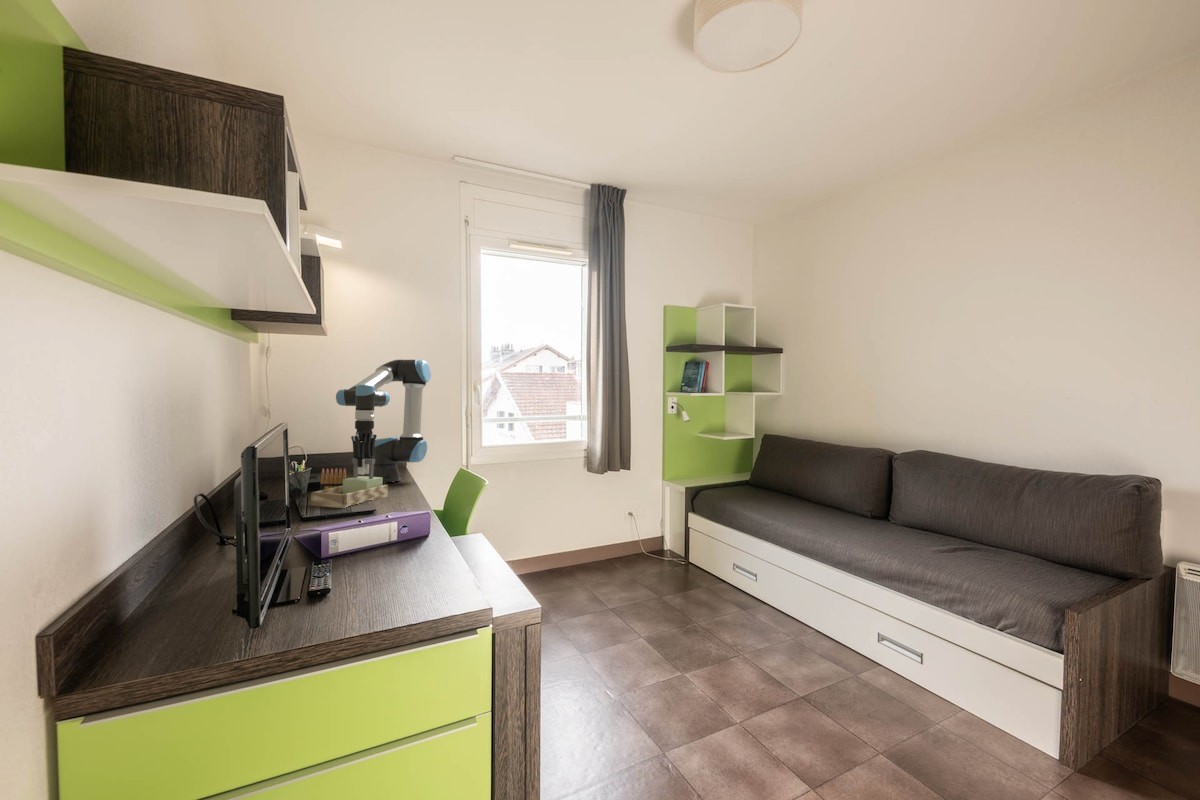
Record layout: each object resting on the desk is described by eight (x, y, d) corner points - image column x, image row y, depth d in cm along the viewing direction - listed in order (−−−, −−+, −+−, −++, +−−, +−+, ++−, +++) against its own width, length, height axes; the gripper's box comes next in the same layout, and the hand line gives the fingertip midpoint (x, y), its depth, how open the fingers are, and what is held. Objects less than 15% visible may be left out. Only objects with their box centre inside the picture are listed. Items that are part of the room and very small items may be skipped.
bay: (356, 494, 223) (357, 482, 223) (387, 496, 219) (387, 484, 219) (310, 505, 197) (310, 492, 197) (344, 508, 194) (344, 495, 194)
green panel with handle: (359, 491, 221) (360, 457, 221) (382, 493, 218) (383, 458, 218) (342, 495, 211) (343, 459, 212) (366, 497, 209) (367, 460, 209)
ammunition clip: (346, 494, 223) (347, 467, 223) (345, 494, 221) (346, 468, 221) (320, 494, 221) (321, 467, 221) (319, 495, 219) (320, 468, 219)
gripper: (359, 420, 207) (358, 476, 207) (383, 419, 222) (382, 472, 221) (344, 420, 209) (343, 475, 209) (369, 419, 223) (367, 471, 223)
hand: (363, 473), depth 215 cm, fingers closed on green panel with handle, 2 cm apart
